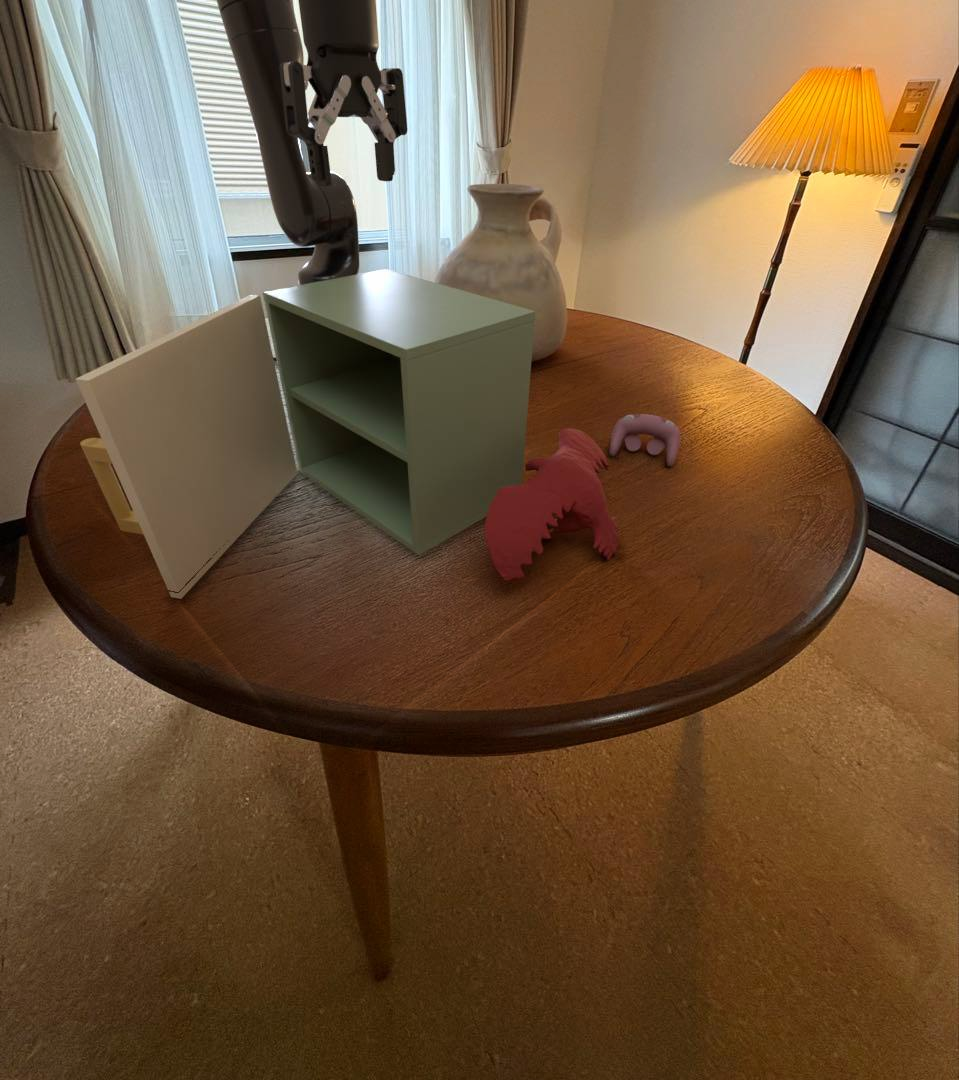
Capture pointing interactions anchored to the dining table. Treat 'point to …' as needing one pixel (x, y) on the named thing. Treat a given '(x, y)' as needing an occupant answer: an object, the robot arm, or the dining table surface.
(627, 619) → the dining table surface
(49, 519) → the dining table surface
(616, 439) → the video game controller
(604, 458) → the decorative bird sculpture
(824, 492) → the dining table surface
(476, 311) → the cupboard
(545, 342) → the jug
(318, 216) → the robot arm
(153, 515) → the door
